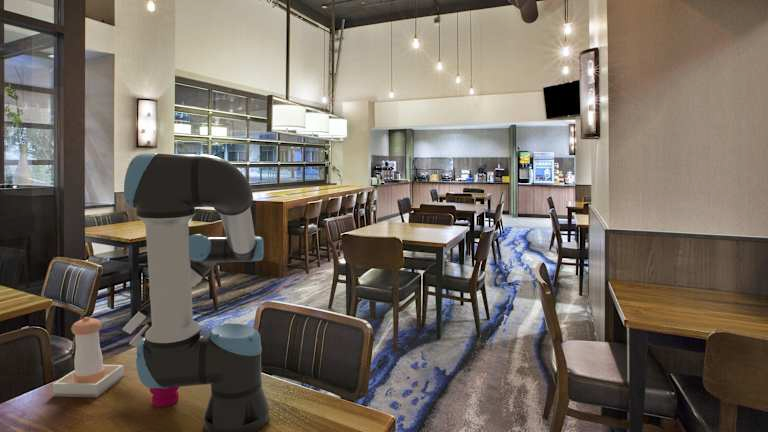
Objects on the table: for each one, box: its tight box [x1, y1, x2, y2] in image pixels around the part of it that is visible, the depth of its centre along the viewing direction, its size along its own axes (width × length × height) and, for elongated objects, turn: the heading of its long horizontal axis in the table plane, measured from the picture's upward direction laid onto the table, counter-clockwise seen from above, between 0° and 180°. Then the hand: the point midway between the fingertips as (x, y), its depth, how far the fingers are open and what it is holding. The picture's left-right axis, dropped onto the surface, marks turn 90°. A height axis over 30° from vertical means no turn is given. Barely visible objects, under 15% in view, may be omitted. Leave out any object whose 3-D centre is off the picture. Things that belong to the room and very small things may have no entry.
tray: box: [51, 364, 125, 398], centre depth 122 cm, size 12×12×4 cm
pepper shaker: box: [70, 316, 105, 384], centre depth 121 cm, size 7×7×19 cm
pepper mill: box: [149, 387, 180, 408], centre depth 114 cm, size 7×7×20 cm
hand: (129, 338), depth 127 cm, fingers open, 13 cm apart
